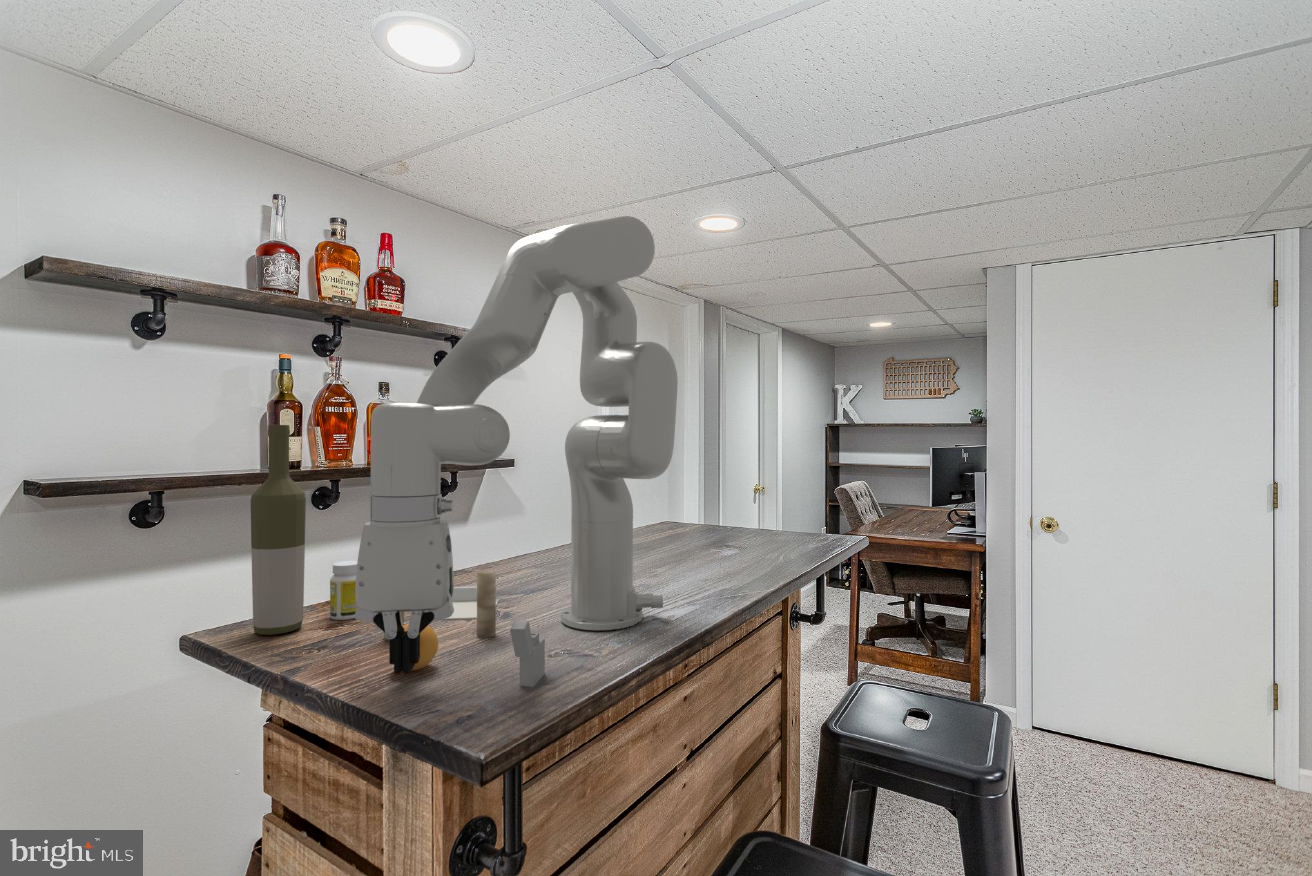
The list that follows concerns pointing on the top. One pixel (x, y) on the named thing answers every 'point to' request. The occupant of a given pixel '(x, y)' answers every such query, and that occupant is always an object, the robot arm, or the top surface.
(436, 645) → the ball
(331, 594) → the supplement bottle
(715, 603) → the top surface
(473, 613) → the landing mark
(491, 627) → the post
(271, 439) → the bottle
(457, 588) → the stopper rail
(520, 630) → the lighter
